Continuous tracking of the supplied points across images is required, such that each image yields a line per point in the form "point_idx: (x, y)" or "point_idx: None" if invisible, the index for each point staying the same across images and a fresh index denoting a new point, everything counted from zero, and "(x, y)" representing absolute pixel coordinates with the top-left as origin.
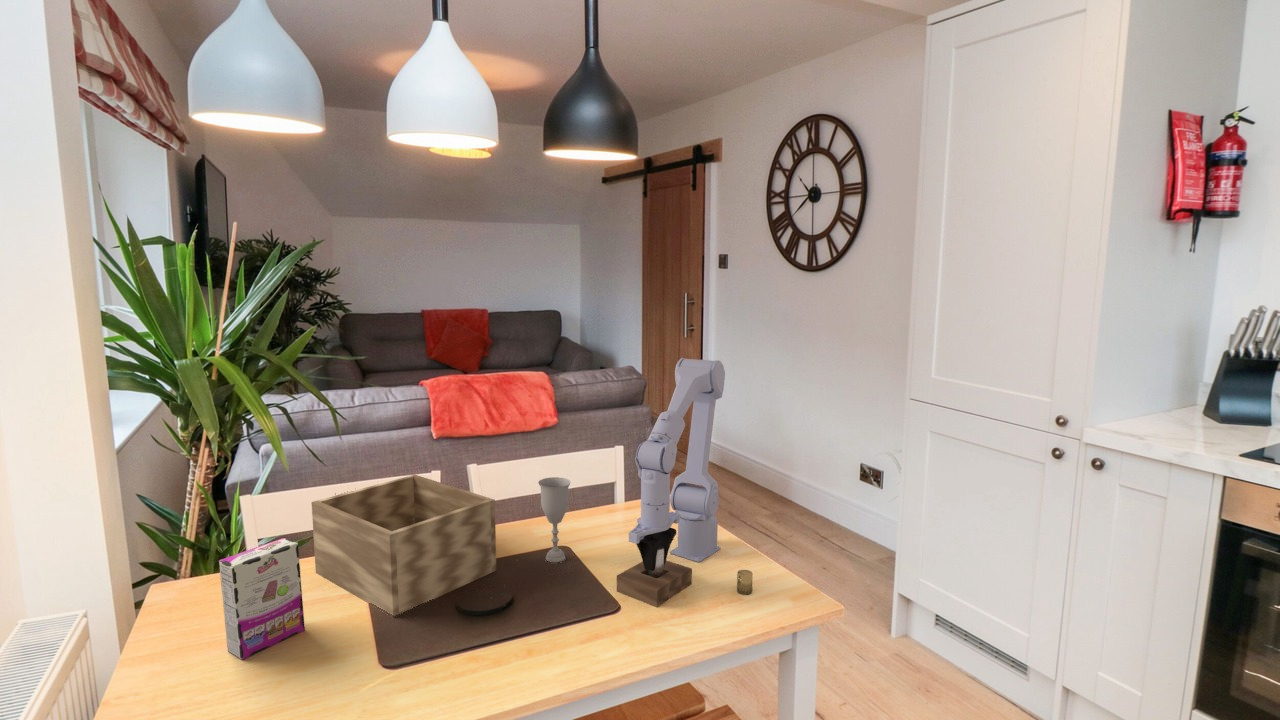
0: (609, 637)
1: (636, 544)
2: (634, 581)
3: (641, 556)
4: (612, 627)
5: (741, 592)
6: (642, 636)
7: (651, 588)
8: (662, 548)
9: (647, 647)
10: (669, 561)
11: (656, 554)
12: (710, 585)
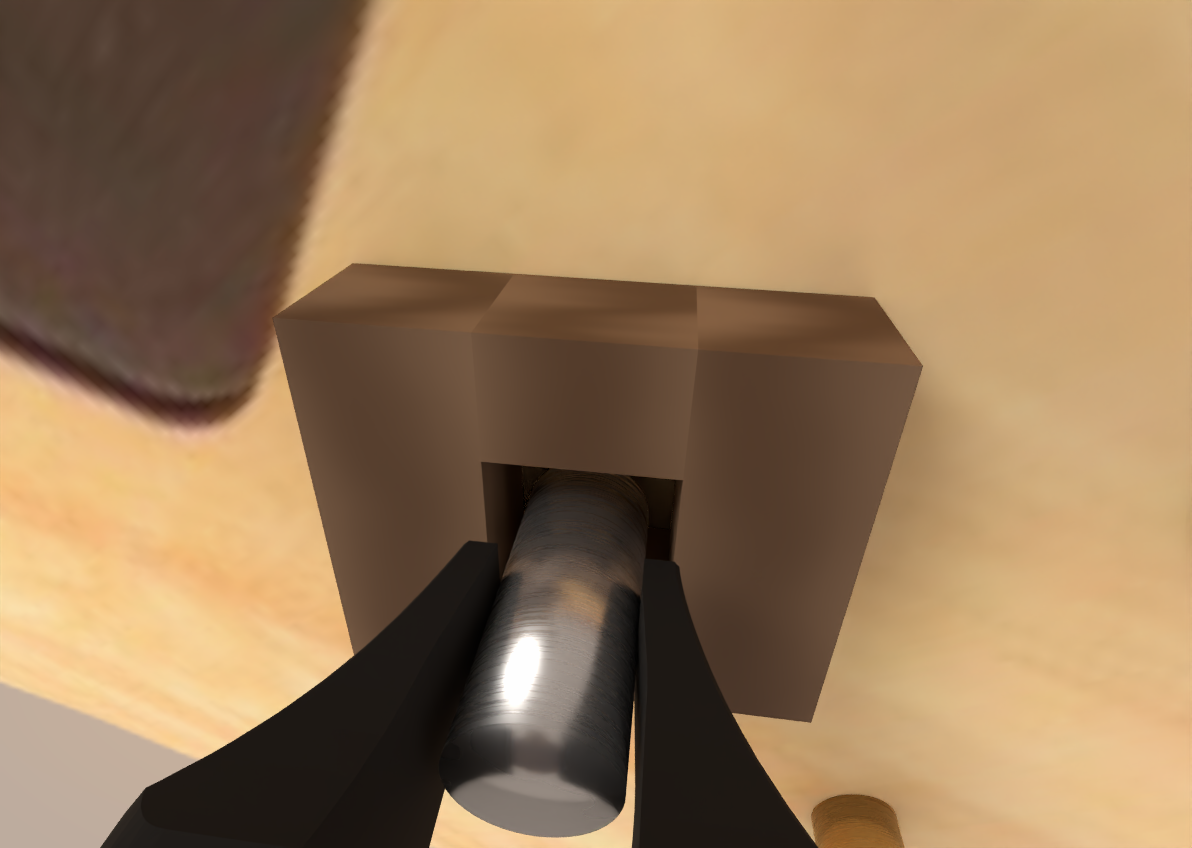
0: (8, 522)
1: (239, 739)
2: (325, 499)
3: (393, 620)
4: (68, 488)
5: (814, 828)
6: (157, 626)
7: (348, 630)
8: (569, 825)
9: (125, 670)
10: (857, 559)
11: (442, 789)
12: (844, 692)
